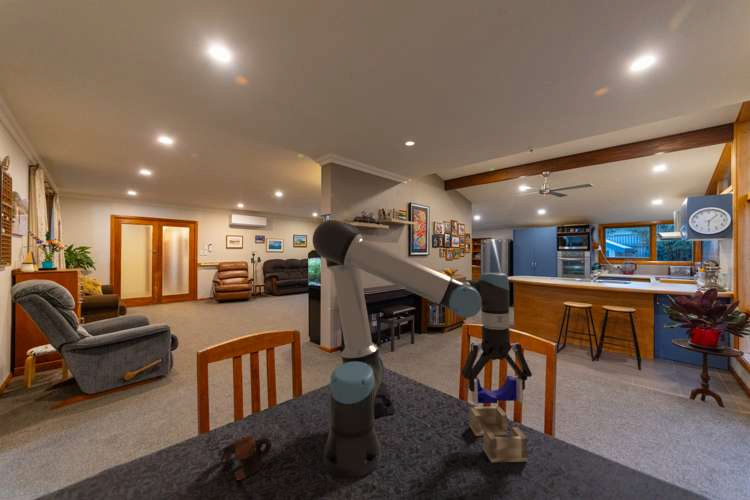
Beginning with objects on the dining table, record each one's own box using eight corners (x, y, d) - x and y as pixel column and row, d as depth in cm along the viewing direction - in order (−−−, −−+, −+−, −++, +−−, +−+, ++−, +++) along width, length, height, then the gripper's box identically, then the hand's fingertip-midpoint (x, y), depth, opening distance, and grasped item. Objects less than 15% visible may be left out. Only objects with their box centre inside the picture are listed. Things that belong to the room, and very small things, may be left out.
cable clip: (476, 403, 85) (475, 382, 85) (471, 395, 89) (471, 375, 89) (518, 403, 84) (518, 382, 84) (512, 395, 89) (511, 375, 89)
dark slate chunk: (390, 387, 121) (390, 376, 121) (395, 418, 99) (395, 403, 99) (353, 388, 120) (353, 376, 120) (349, 418, 98) (349, 404, 98)
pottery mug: (223, 490, 69) (215, 452, 72) (229, 481, 77) (222, 447, 80) (275, 462, 74) (266, 427, 76) (276, 457, 82) (268, 425, 84)
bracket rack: (491, 462, 77) (491, 439, 77) (469, 426, 93) (469, 406, 93) (527, 461, 77) (527, 438, 77) (499, 425, 93) (499, 406, 93)
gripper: (457, 330, 81) (458, 409, 81) (544, 328, 82) (546, 406, 82) (449, 324, 89) (451, 396, 89) (529, 322, 89) (531, 393, 89)
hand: (496, 401), depth 85 cm, fingers closed on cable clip, 12 cm apart
